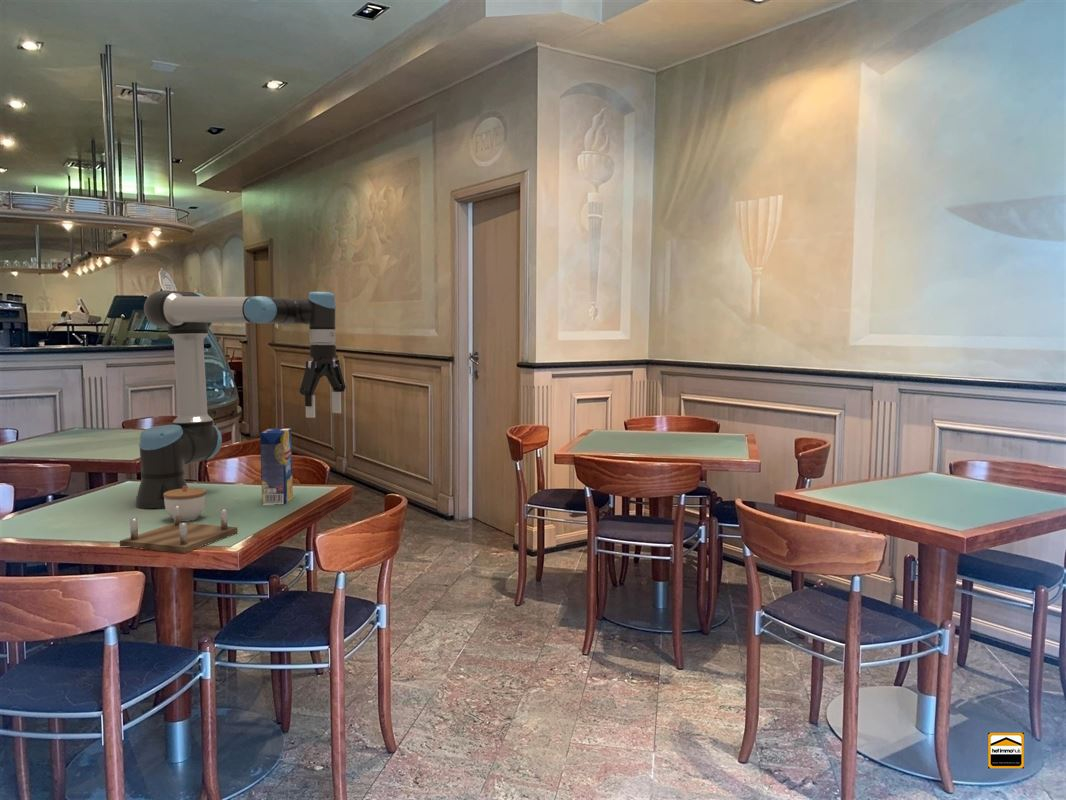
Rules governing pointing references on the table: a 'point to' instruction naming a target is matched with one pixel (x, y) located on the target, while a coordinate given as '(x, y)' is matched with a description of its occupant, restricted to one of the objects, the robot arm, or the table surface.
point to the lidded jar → (185, 502)
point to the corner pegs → (177, 522)
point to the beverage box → (276, 466)
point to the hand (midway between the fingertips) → (324, 415)
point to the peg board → (178, 537)
